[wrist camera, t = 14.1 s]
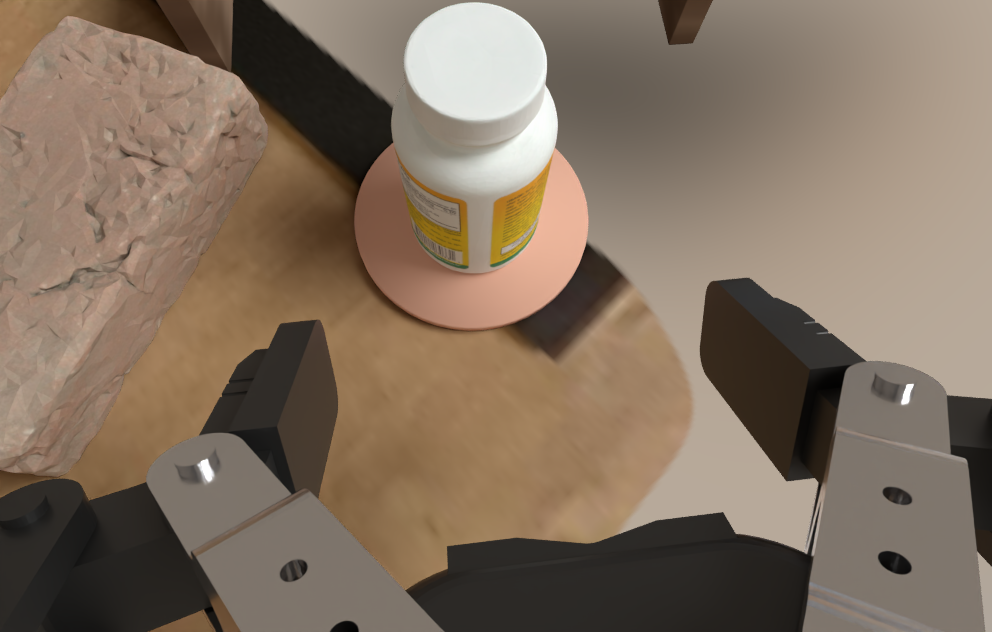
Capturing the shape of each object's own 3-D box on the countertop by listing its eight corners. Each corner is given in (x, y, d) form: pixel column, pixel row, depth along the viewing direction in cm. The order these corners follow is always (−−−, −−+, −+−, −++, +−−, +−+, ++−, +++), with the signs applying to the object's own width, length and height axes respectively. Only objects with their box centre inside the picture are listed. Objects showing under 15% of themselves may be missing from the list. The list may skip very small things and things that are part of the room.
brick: (77, 486, 23) (-22, 480, 18) (-110, 402, 23) (-249, 376, 19) (287, 140, 28) (250, 68, 23) (128, 79, 28) (62, -2, 24)
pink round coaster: (307, 234, 26) (304, 229, 25) (457, 85, 28) (457, 78, 28) (489, 379, 24) (489, 377, 23) (631, 207, 26) (633, 201, 26)
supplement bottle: (413, 280, 25) (374, 147, 15) (410, 166, 26) (373, -16, 17) (543, 273, 25) (581, 138, 16) (533, 160, 26) (561, -22, 17)
